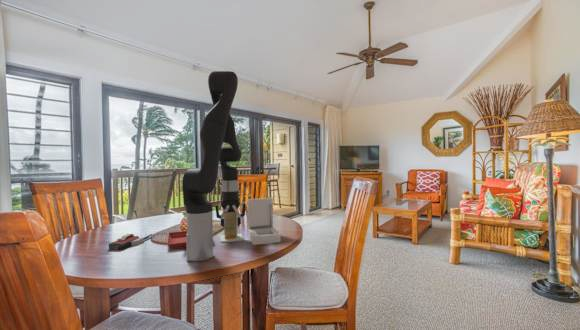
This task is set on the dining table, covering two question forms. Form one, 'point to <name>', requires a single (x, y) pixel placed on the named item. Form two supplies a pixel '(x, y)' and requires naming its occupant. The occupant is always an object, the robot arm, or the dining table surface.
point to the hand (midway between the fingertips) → (231, 226)
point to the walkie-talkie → (126, 242)
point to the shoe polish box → (230, 225)
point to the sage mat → (238, 238)
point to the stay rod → (270, 215)
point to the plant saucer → (177, 239)
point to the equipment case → (261, 222)
